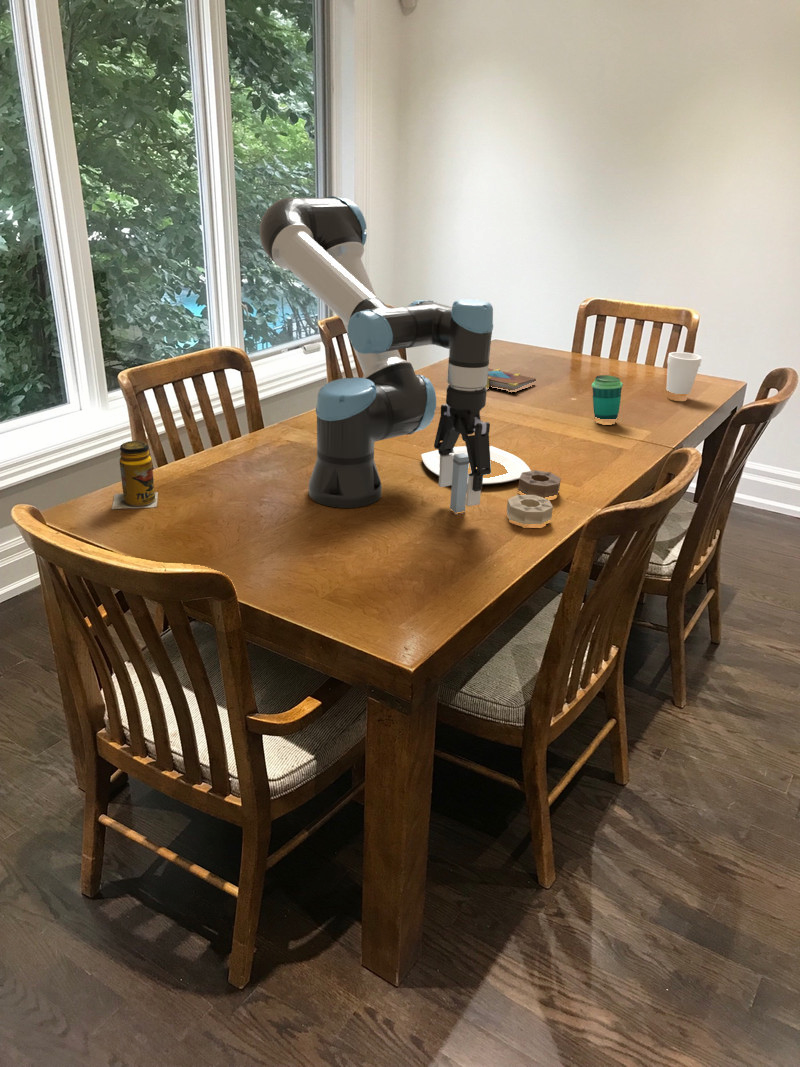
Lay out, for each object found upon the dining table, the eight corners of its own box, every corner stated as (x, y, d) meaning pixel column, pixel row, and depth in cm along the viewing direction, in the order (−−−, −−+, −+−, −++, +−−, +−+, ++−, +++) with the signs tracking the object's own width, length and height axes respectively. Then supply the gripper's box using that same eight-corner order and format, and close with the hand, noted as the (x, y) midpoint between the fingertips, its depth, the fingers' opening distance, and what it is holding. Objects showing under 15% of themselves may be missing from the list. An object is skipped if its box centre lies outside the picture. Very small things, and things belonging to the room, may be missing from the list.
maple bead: (534, 532, 158) (536, 515, 156) (499, 519, 163) (500, 502, 161) (557, 520, 163) (559, 503, 162) (522, 507, 168) (524, 491, 167)
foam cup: (696, 398, 248) (705, 355, 242) (688, 405, 240) (697, 361, 235) (665, 392, 252) (673, 350, 246) (656, 399, 245) (664, 356, 239)
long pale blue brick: (455, 514, 164) (459, 458, 159) (449, 510, 166) (453, 454, 160) (465, 512, 165) (469, 456, 160) (459, 508, 167) (463, 452, 161)
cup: (605, 428, 218) (612, 384, 212) (580, 420, 223) (586, 377, 218) (623, 423, 223) (630, 379, 217) (598, 415, 228) (604, 372, 223)
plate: (408, 459, 192) (408, 451, 191) (494, 449, 200) (495, 442, 200) (452, 496, 173) (452, 488, 172) (545, 484, 181) (546, 475, 181)
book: (469, 374, 267) (470, 359, 265) (536, 389, 254) (538, 373, 252) (441, 381, 255) (442, 365, 253) (510, 397, 242) (513, 381, 240)
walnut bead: (534, 504, 170) (536, 488, 169) (511, 489, 177) (512, 474, 175) (565, 497, 174) (568, 482, 172) (542, 483, 180) (543, 468, 179)
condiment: (156, 507, 161) (151, 450, 156) (111, 510, 160) (104, 451, 154) (158, 493, 168) (152, 437, 163) (114, 495, 166) (107, 439, 161)
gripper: (518, 399, 147) (506, 513, 157) (452, 369, 164) (445, 472, 174) (483, 404, 144) (473, 519, 153) (420, 372, 161) (414, 478, 171)
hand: (458, 494), depth 164 cm, fingers open, 10 cm apart
